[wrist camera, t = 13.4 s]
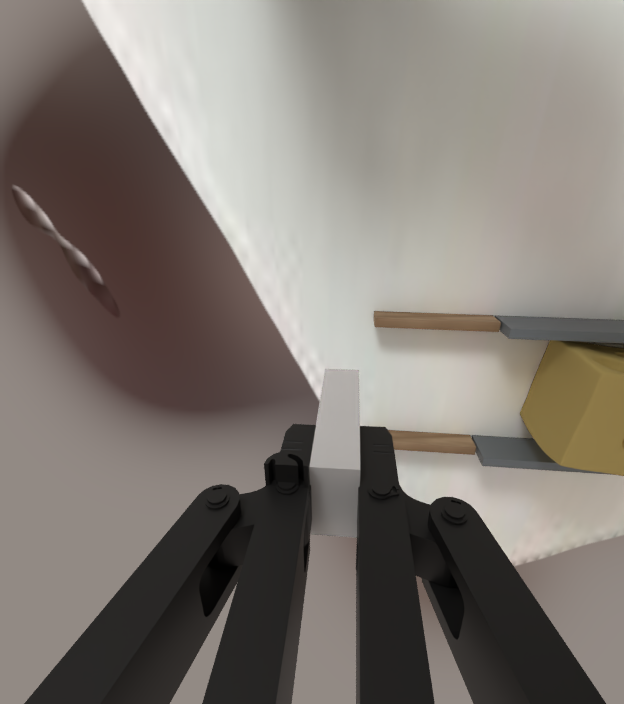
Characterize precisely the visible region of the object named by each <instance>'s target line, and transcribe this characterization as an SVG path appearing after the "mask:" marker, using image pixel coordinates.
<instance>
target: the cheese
mask: <svg viewBox="0 0 624 704" xmlns="http://www.w3.org/2000/svg"><path fill="white" fill-rule="evenodd" d="M520 415H521V417H522V419H523V421H524V423H525V425H526V427H527V429H528V431H529V432H530V434H531V435H532V437H533V438H534V440H535V441H536V442H537V444H538V445H539V446H540V448H541V449H542V450H543V451H544V452H545V453H546V454H547V455H548V456H549V457H550V458H551V459H553V460H554V461H555V462H556V463H557V464H559V465H561V466H564V467H569V468H574V469H580V470H586V471H594V472H602V473H609V474H615V475H621V476H624V348H615V347H608V346H603V345H597V344H592V343H586V342H580V341H556V340H550V342H549V344H548V347H547V349H546V351H545V354H544V356H543V358H542V361H541V363H540V365H539V368H538V370H537V372H536V375H535V377H534V380H533V383H532V385H531V388H530V390H529V393H528V396H527V398H526V401H525V403H524V405H523V407H522V410H521V412H520Z"/></svg>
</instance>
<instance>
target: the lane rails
mask: <svg viewBox="0 0 624 704" xmlns="http://www.w3.org/2000/svg"><path fill="white" fill-rule="evenodd" d="M374 325H375V327H387V328H413V329H438V330H464V331H489V332H499V330H500V325H501V322H500V321H499V320H497V319H496V318H495V317H494V316H493V315H466V314H438V313H410V312H382V311H374ZM388 431H389V432H390V434H391V435H392V439H393V447H394V449H395V450H410V451H426V452H441V453H457V454H472V455H475V451H476V446H475V444H474V442H473V440H472V438H471V436H470V435H460V434H443V433H427V432H410V431H394V430H388Z"/></svg>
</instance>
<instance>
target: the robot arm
mask: <svg viewBox="0 0 624 704" xmlns="http://www.w3.org/2000/svg"><path fill="white" fill-rule="evenodd" d="M264 469H265V480H266V486H265V487H264V488H262V489H260V490H257V491H254V492H251V493H245V494H240V495H239V492H238V491H237V490H236V488H234V487H232V486H229V485H222V484H221V485H216V486H212V487H209V488H208V489H205V490H204V491H203V492H201V493H200V494H199V495H198V496H197V498H196V499H195V500H194V501H193V502H192V503H191V505H190V506H189V507H188V508H187V510H186V511H185V512H184V513H183V514H182V515H181V517H180V518H179V519H178V520H177V521H176V523H175V524H174V525H173V526H172V527H171V529H170V530H169V531H168V532H167V533H166V535H165V536H164V537H163V538H162V539H161V541H160V542H159V543H158V544H157V545H156V547H155V548H154V549H153V550H152V551H151V553H150V554H149V555H148V556H147V558H146V559H145V560H144V561H143V562H142V564H141V565H140V566H139V567H138V568H137V569H136V570H135V572H134V573H133V574H132V575H131V576H130V578H129V579H128V580H127V581H126V582H125V584H124V585H123V586H122V587H121V588H120V590H119V591H118V592H117V593H116V594H115V596H114V597H113V598H112V599H111V600H110V602H109V603H108V604H107V605H106V606H105V608H104V609H103V610H102V611H101V612H100V614H99V615H98V616H97V617H96V618H95V620H94V621H93V622H92V623H91V624H90V626H89V627H88V628H87V629H86V630H85V632H84V633H83V634H82V635H81V636H80V638H79V639H78V640H77V641H76V642H75V644H74V645H73V646H72V647H71V649H70V650H69V651H68V652H67V653H66V654H65V656H64V657H63V658H62V659H61V661H60V662H59V663H58V664H57V665H56V666H55V668H54V669H53V670H52V671H51V672H50V674H49V675H48V676H47V677H46V678H45V679H44V681H43V682H42V683H41V684H40V685H39V687H38V688H37V689H36V690H35V691H34V693H33V694H32V695H31V696H30V697H29V699H28V700H27V701H26V702H25V703H24V704H170V702H171V700H172V698H173V696H174V695H175V693H176V691H177V689H178V688H179V686H180V684H181V682H182V680H183V678H184V677H185V675H186V673H187V671H188V670H189V668H190V666H191V664H192V663H193V661H194V659H195V657H196V655H197V654H198V652H199V650H200V648H201V646H202V645H203V643H204V641H205V639H206V637H207V636H208V634H209V632H210V630H211V628H212V627H213V625H214V623H215V621H216V620H217V618H218V616H219V614H220V612H221V611H222V609H223V607H224V605H225V603H226V602H227V600H228V598H229V596H230V594H231V593H232V591H233V589H234V587H235V585H236V584H237V586H236V590H235V593H234V597H233V600H232V603H231V607H230V610H229V614H228V617H227V621H226V624H225V628H224V631H223V634H222V638H221V642H220V645H219V649H218V652H217V655H216V658H215V662H214V665H213V669H212V672H211V676H210V679H209V683H208V686H207V689H206V693H205V696H204V700H203V703H202V704H291V703H292V695H293V686H294V678H295V670H296V661H297V653H298V645H299V636H300V628H301V620H302V611H303V603H304V595H305V586H306V579H307V570H308V562H309V554H310V532H311V534H314V535H327V536H341V537H355V538H357V552H356V553H357V554H356V572H357V573H356V580H357V581H356V585H357V586H356V589H357V590H356V594H357V595H356V704H434V697H433V690H432V683H431V677H430V670H429V663H428V657H427V650H426V643H425V636H424V630H423V622H422V616H421V609H420V603H419V595H418V589H417V582H416V576H419V577H421V578H422V582H423V584H424V587H425V589H426V592H427V594H428V597H429V599H430V601H431V604H432V606H433V608H434V611H435V613H436V615H437V618H438V620H439V623H440V625H441V627H442V630H443V632H444V634H445V637H446V639H447V642H448V644H449V646H450V649H451V651H452V654H453V656H454V658H455V661H456V663H457V665H458V668H459V670H460V673H461V675H462V677H463V680H464V682H465V685H466V687H467V689H468V692H469V694H470V696H471V699H472V701H473V703H474V704H606V703H605V701H604V700H603V698H602V697H601V695H600V694H599V692H598V691H597V689H596V688H595V686H594V685H593V684H592V682H591V681H590V679H589V678H588V676H587V674H586V673H585V672H584V670H583V669H582V667H581V666H580V664H579V663H578V661H577V660H576V658H575V657H574V655H573V654H572V652H571V651H570V649H569V648H568V646H567V645H566V643H565V642H564V640H563V639H562V637H561V636H560V635H559V633H558V632H557V630H556V629H555V627H554V626H553V624H552V623H551V621H550V620H549V618H548V617H547V615H546V614H545V612H544V611H543V609H542V608H541V606H540V605H539V603H538V602H537V601H536V599H535V597H534V596H533V594H532V593H531V591H530V590H529V589H528V587H527V586H526V584H525V583H524V581H523V580H522V578H521V577H520V575H519V574H518V572H517V571H516V569H515V568H514V566H513V565H512V563H511V562H510V560H509V559H508V557H507V556H506V554H505V553H504V551H503V550H502V548H501V547H500V546H499V544H498V543H497V541H496V540H495V538H494V537H493V535H492V534H491V532H490V531H489V529H488V528H487V526H486V525H485V523H484V522H483V520H482V519H481V517H480V516H479V514H478V513H477V511H476V510H475V509H474V508H473V507H472V506H471V505H470V504H468V503H466V502H464V501H463V500H460V499H457V498H454V497H442V498H439V499H436V500H435V501H434V502H433V503H432V504H431V505H429V504H426V503H423V502H420V501H417V500H415V499H413V498H411V497H410V496H408V495H407V494H406V493H405V492H404V491H403V490H402V489H401V487H400V485H399V481H398V474H397V467H396V460H395V454H394V447H393V439H392V435H391V434H390V432H389V431H388V430H387V429H386V427H369V426H360V413H359V370H339V369H325V373H324V380H323V386H322V392H321V398H320V404H319V410H318V416H317V423H316V425H301V424H293V425H292V426H291V427H290V428H289V429H288V430H287V431H286V433H285V437H284V441H283V444H282V447H281V451H280V452H279V453H276V454H273V455H272V456H270V457H269V458H268V459H267V460H266V462H265V463H264ZM237 582H238V583H237Z"/></svg>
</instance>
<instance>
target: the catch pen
mask: <svg viewBox="0 0 624 704" xmlns="http://www.w3.org/2000/svg"><path fill="white" fill-rule="evenodd" d="M495 318H496V319H497V320H499V321H500V322H501V325H500V331H501V332H502V333H503V334H504V335H505V336H507V337H508V338H509V339H531V340H556V341H581V342H605V343H624V320H605V319H577V318H549V317H521V316H495ZM472 440H473V442H474V444H475V446H476V451H475V452H476V454H477V456H478V458H479V460H480V462H481V464H482V466H493V467H508V468H523V469H538V470H553V471H568V472H583V473H598V474H609V473H602V472H594V471H586V470H580V469H574V468H569V467H564V466H561V465H559V464H557V463H556V462H555V461H554V460H553V459H551V458H550V457H549V456H548V455H547V454H546V453H545V452H544V451H543V450H542V449H541V448H540V446H539V445H538V444H537V442H536V441H535V440H534V439H526V438H509V437H493V436H476V435H472ZM613 475H615V474H613Z"/></svg>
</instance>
